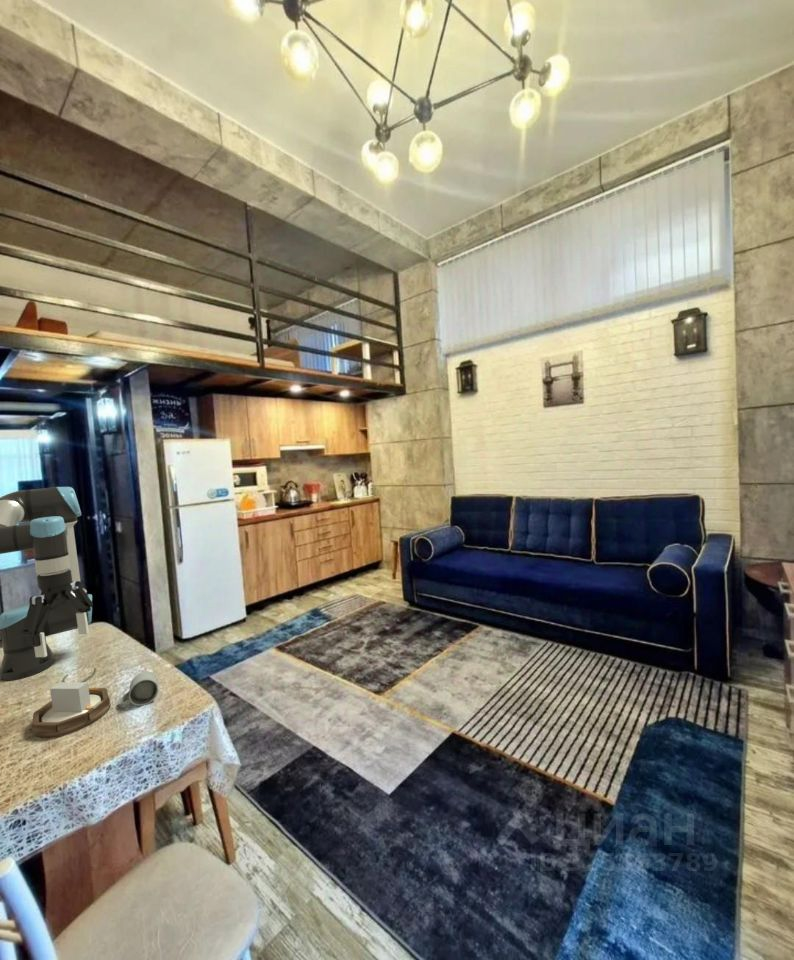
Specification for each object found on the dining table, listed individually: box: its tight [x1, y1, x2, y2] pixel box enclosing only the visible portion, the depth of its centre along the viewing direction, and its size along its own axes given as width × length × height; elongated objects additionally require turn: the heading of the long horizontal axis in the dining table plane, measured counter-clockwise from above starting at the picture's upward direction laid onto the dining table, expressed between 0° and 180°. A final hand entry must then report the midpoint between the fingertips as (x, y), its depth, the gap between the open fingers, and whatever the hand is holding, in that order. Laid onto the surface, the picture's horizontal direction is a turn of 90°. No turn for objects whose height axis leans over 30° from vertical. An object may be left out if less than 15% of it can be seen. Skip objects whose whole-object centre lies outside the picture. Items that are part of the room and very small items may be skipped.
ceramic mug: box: [117, 671, 159, 709], centre depth 129 cm, size 11×8×8 cm
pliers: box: [61, 667, 98, 682], centre depth 141 cm, size 10×1×20 cm
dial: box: [42, 681, 101, 722], centre depth 122 cm, size 14×14×8 cm
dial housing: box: [31, 687, 112, 739], centre depth 122 cm, size 18×18×4 cm
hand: (63, 644), depth 121 cm, fingers open, 13 cm apart
